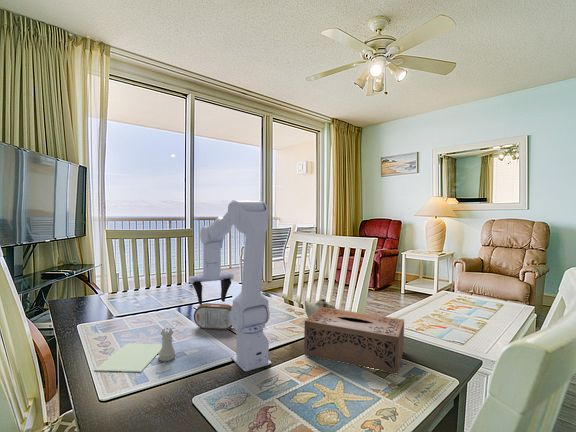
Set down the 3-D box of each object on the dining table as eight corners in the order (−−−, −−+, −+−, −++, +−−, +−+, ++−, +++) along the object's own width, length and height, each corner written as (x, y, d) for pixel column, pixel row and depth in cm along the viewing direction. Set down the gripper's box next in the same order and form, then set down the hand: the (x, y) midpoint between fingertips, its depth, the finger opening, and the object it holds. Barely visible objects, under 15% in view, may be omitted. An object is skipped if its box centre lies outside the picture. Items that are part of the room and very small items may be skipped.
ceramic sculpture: (306, 293, 126) (345, 297, 123) (305, 314, 126) (343, 319, 124) (303, 301, 115) (345, 306, 113) (301, 324, 116) (343, 330, 113)
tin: (237, 327, 112) (237, 304, 112) (235, 331, 109) (235, 306, 109) (195, 325, 114) (196, 302, 113) (192, 329, 110) (192, 304, 110)
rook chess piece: (170, 352, 92) (170, 325, 92) (178, 357, 90) (178, 329, 89) (155, 358, 89) (155, 329, 89) (163, 363, 86) (163, 334, 86)
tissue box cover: (304, 355, 93) (304, 320, 92) (320, 336, 106) (321, 306, 105) (397, 376, 82) (398, 337, 81) (403, 352, 95) (404, 319, 95)
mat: (166, 345, 97) (166, 344, 97) (141, 372, 81) (141, 371, 81) (127, 344, 98) (127, 343, 98) (94, 371, 82) (94, 370, 82)
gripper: (229, 259, 115) (229, 296, 115) (187, 261, 108) (187, 301, 109) (235, 262, 109) (235, 302, 109) (191, 265, 102) (191, 307, 102)
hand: (211, 302), depth 108 cm, fingers open, 7 cm apart
